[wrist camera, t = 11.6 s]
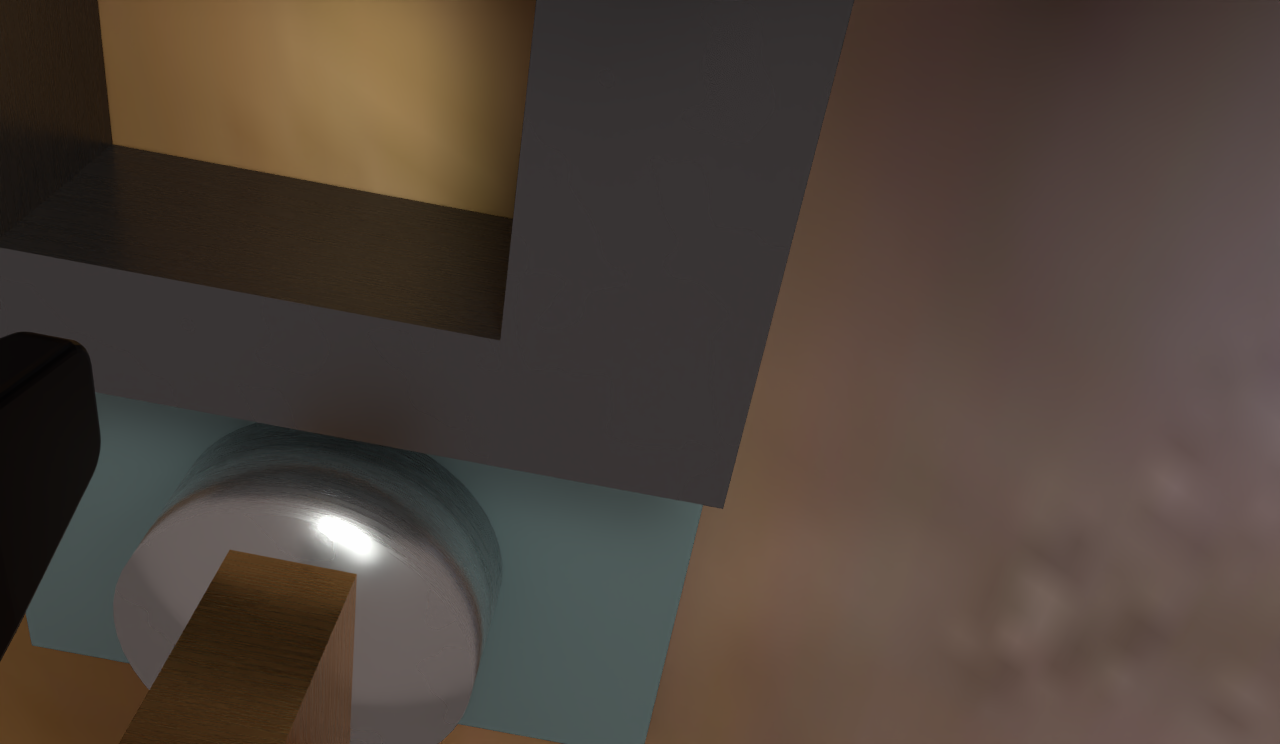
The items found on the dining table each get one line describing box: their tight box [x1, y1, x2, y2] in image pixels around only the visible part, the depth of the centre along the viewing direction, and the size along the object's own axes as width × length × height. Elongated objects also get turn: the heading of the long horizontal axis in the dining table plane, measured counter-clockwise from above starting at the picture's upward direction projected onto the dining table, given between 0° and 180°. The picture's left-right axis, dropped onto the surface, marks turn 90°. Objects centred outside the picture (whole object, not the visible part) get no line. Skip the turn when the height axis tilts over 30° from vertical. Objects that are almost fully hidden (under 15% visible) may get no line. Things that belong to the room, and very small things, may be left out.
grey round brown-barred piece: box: [113, 422, 503, 744], centre depth 22 cm, size 7×7×9 cm
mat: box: [26, 392, 703, 744], centre depth 26 cm, size 15×10×1 cm, turn 81°
